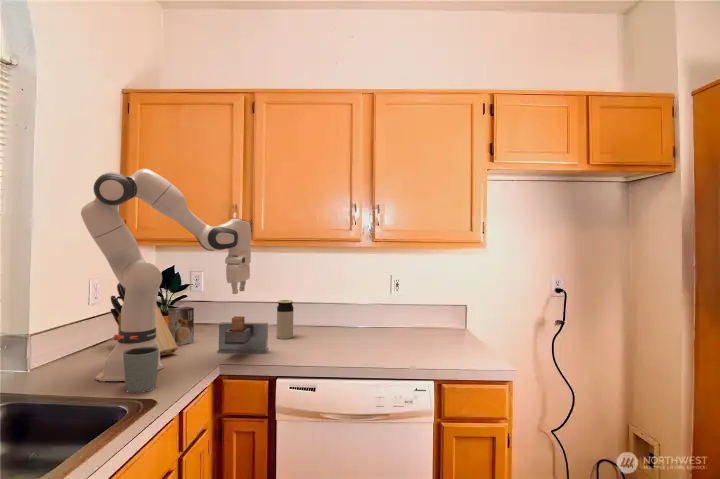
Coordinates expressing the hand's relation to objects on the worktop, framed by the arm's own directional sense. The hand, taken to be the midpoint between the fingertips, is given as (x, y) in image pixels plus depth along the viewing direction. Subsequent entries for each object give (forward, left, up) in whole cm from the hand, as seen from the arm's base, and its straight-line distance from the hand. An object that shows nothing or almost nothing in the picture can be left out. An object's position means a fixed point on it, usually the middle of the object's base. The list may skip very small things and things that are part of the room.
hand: (238, 292), depth 164 cm
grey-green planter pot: (-36, +20, -26) cm, 49 cm away
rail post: (0, 0, -19) cm, 19 cm away
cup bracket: (+4, 0, -26) cm, 26 cm away
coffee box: (+20, +32, -26) cm, 46 cm away
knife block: (+7, +43, -26) cm, 50 cm away
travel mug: (+34, -13, -26) cm, 45 cm away
